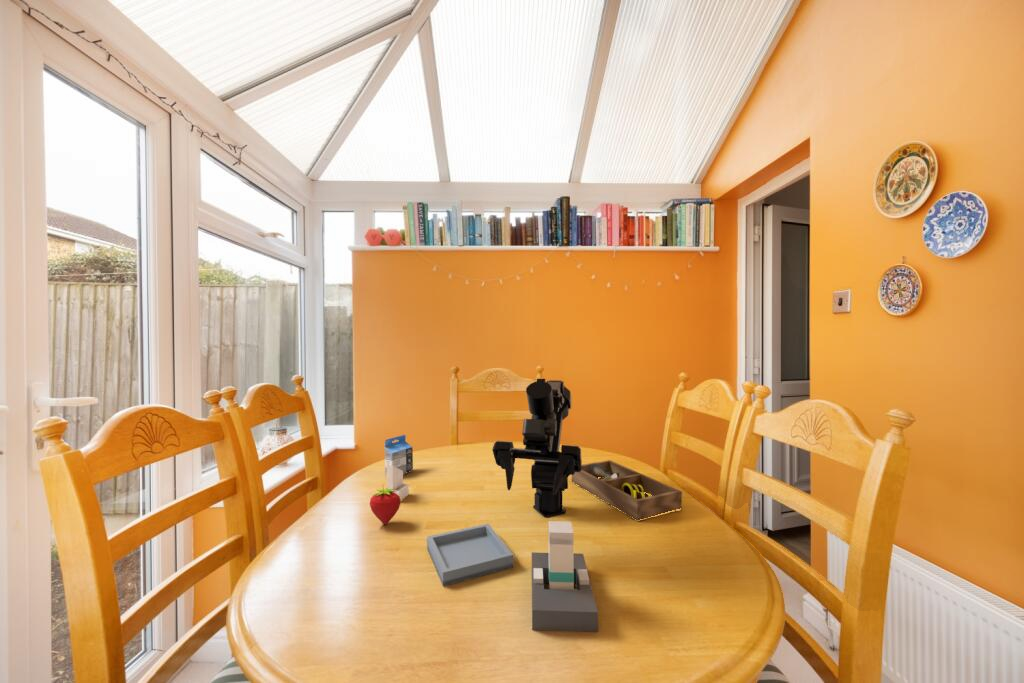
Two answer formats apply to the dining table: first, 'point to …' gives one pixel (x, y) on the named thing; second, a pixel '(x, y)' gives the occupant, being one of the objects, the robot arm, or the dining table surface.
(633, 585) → the dining table surface
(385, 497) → the strawberry
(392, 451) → the label tape box
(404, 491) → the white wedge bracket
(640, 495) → the yellow coil spring
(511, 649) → the dining table surface
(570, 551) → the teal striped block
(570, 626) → the block
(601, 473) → the eagle figurine
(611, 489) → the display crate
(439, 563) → the tray
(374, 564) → the dining table surface
